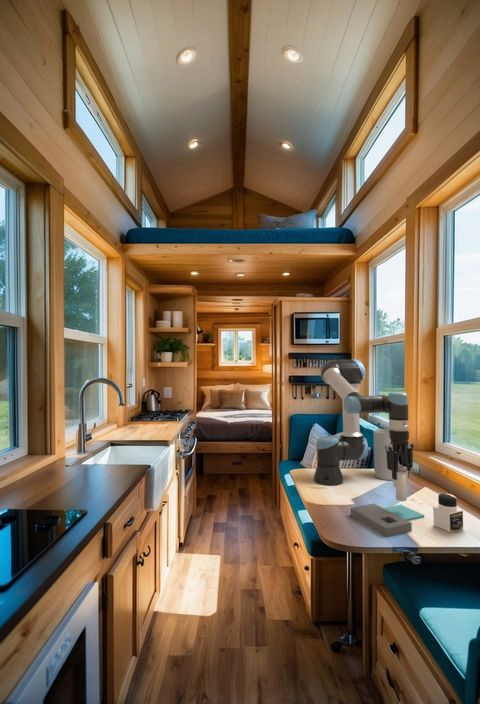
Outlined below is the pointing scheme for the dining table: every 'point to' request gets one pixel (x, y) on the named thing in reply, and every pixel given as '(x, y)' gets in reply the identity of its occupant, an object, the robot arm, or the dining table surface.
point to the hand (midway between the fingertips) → (400, 486)
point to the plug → (401, 484)
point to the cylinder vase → (381, 454)
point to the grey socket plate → (381, 519)
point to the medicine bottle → (448, 514)
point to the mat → (404, 512)
